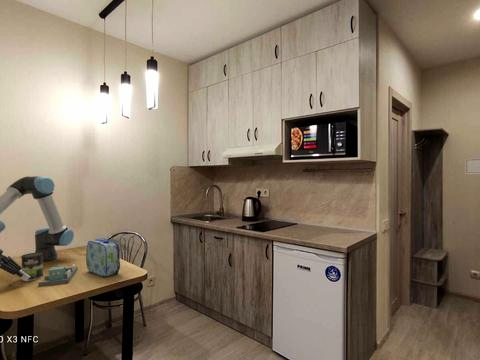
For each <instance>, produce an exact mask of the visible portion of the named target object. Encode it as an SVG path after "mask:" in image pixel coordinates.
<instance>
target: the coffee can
mask: <svg viewBox="0 0 480 360" xmlns="http://www.w3.org/2000/svg"><path fill="white" fill-rule="evenodd" d="M43 263H44V262H43V253H35V252H29V253H26V254H23V255H21V267H22V269H21V270H22V271H23V272H25V273H26V274H28V275H29V276H30V278H29V279H28V280H27V281H26V282H30V281H32V282H33V281H37V280H39V279H42V278H44V269H43V268H44V265H43ZM21 281H23V282H25V281H24V280H23V279H22V278H21Z"/></svg>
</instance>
